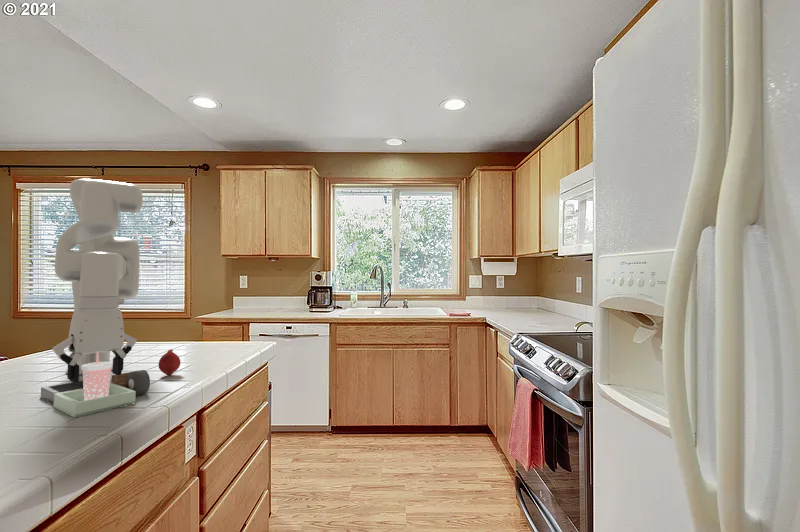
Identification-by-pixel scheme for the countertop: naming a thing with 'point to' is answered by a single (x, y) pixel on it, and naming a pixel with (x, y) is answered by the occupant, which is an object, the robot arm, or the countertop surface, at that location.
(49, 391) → the socket ring
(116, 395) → the tray
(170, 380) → the countertop surface
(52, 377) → the countertop surface
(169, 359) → the onion
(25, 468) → the countertop surface
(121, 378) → the block
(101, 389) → the beverage cup
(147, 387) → the caster wheel
